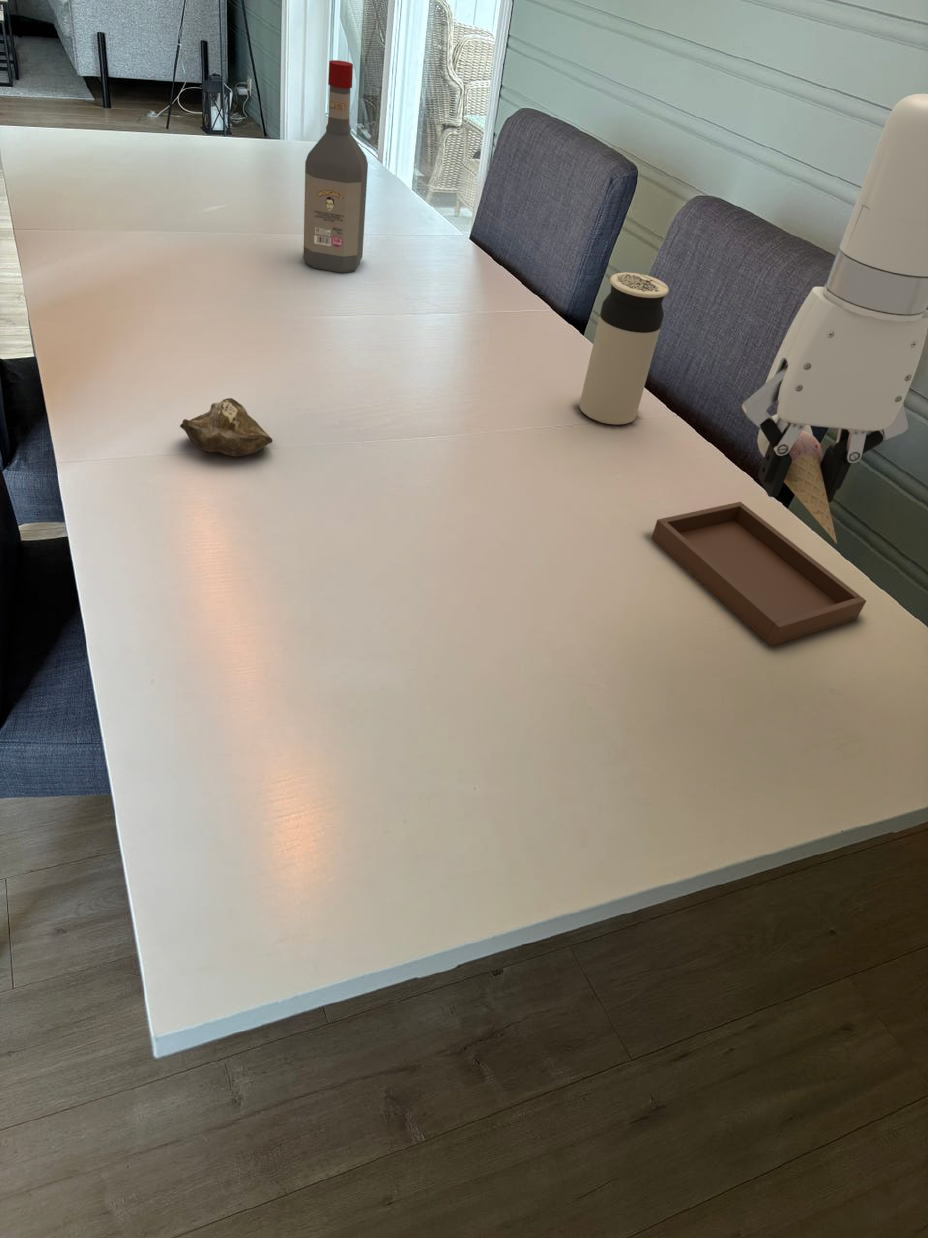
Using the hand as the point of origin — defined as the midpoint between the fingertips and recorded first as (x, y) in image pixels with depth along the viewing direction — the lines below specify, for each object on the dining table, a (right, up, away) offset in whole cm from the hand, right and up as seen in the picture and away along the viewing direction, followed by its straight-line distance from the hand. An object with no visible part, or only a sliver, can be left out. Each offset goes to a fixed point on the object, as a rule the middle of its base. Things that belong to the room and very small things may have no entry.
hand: (795, 489), depth 80 cm
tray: (+2, -7, +19) cm, 21 cm away
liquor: (-52, +50, +77) cm, 106 cm away
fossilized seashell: (-57, +8, +26) cm, 63 cm away
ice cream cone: (+1, 0, +1) cm, 1 cm away
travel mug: (-9, +17, +46) cm, 50 cm away
